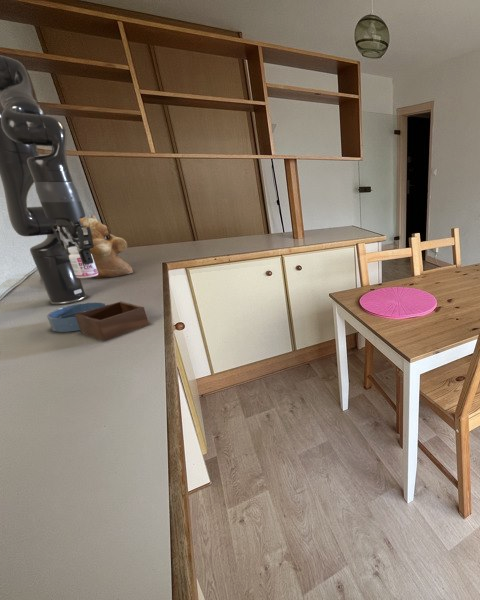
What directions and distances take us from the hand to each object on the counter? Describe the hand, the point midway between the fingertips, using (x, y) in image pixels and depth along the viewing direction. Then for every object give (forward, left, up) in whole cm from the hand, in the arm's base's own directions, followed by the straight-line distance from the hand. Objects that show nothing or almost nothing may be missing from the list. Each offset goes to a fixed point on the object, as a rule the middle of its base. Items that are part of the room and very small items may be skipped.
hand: (82, 262), depth 89 cm
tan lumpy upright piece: (-61, +31, -21) cm, 72 cm away
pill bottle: (0, 0, -4) cm, 4 cm away
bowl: (-9, -1, -20) cm, 23 cm away
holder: (+4, +1, -20) cm, 21 cm away
